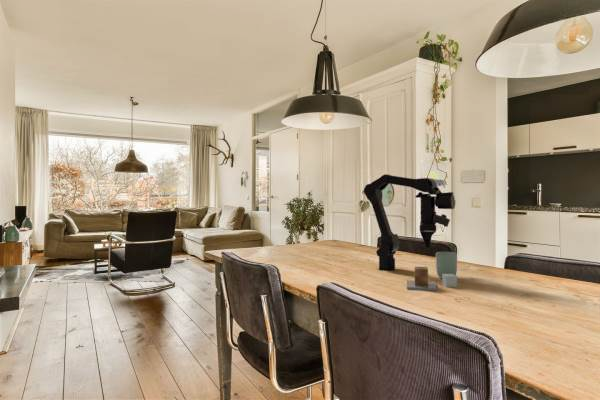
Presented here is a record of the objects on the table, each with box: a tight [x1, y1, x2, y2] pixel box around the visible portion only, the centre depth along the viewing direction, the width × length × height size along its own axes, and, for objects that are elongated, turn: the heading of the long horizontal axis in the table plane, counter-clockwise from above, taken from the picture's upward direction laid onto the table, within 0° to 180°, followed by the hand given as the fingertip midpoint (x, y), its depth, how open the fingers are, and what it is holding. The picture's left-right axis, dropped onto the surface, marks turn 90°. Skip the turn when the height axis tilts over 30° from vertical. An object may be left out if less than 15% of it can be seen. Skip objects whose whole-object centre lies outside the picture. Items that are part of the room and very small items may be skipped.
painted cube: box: [441, 274, 458, 288], centre depth 133 cm, size 4×4×4 cm
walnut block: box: [414, 266, 429, 286], centre depth 132 cm, size 4×4×6 cm
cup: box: [435, 251, 458, 279], centre depth 144 cm, size 8×8×10 cm
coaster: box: [406, 280, 438, 292], centre depth 133 cm, size 10×10×1 cm
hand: (427, 245), depth 152 cm, fingers open, 9 cm apart
